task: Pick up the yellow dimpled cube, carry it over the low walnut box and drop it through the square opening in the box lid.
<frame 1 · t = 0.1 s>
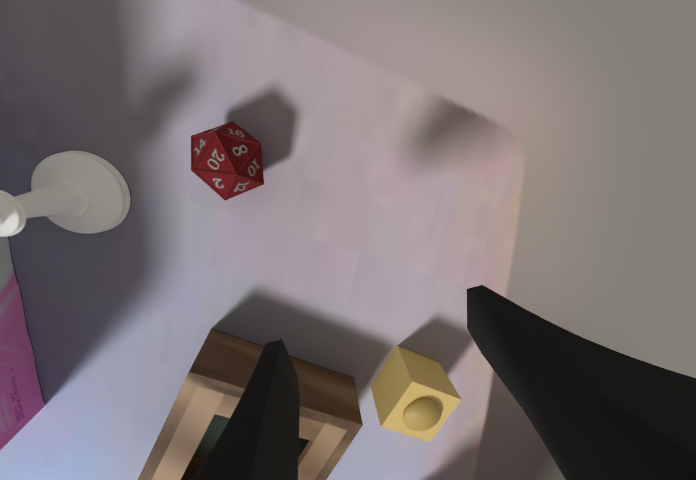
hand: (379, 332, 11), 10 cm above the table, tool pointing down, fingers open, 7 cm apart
yellow dimpled cube: (404, 373, 26), on the table
dice: (237, 158, 19), on the table
piece box: (255, 411, 25), on the table
chess piece: (88, 192, 18), on the table
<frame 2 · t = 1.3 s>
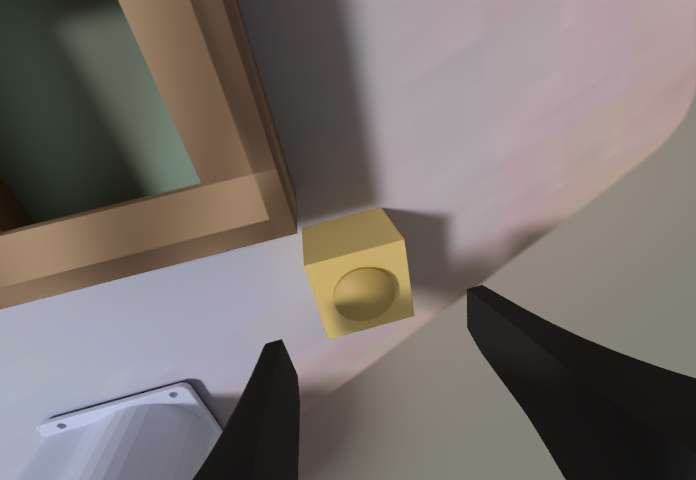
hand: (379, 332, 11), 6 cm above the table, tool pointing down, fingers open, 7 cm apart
yellow dimpled cube: (349, 251, 17), on the table
piece box: (107, 93, 12), on the table
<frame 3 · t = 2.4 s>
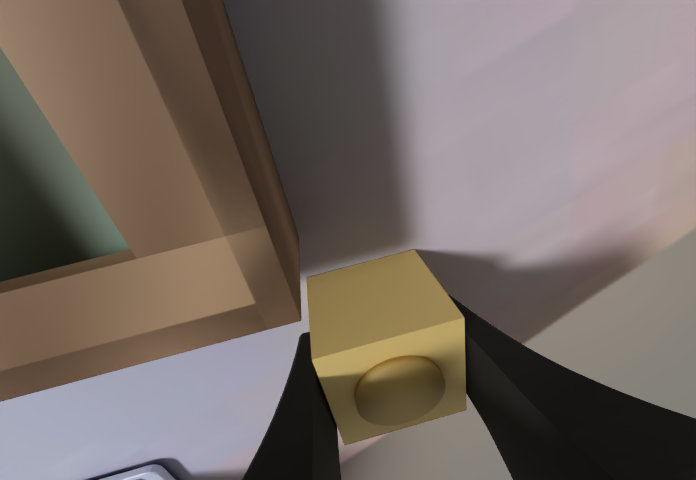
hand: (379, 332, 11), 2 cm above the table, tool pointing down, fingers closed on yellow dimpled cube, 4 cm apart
yellow dimpled cube: (369, 305, 13), on the table, touching gripper
piece box: (7, 94, 8), on the table
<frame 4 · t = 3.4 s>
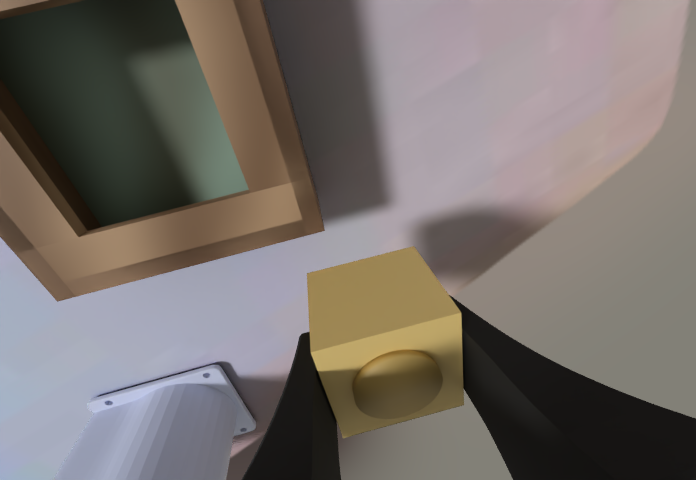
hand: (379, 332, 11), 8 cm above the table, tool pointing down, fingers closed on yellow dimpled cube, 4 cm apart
yellow dimpled cube: (369, 301, 13), point 7 cm above the table, touching gripper
piece box: (163, 114, 14), on the table
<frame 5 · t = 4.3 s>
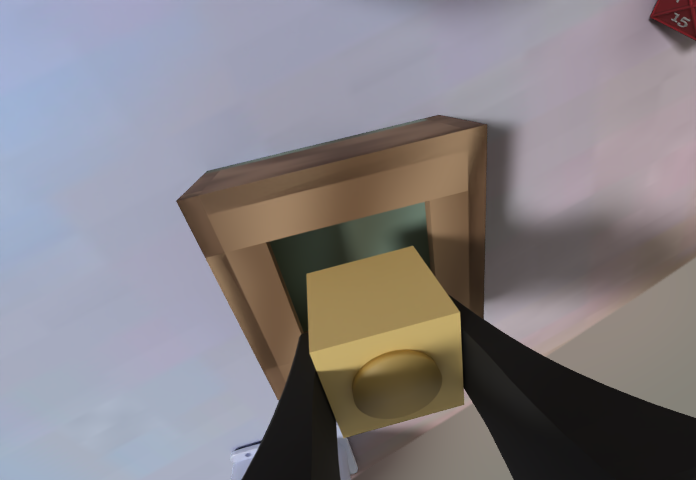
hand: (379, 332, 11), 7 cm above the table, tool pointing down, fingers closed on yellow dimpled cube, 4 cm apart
yellow dimpled cube: (369, 301, 13), point 6 cm above the table, touching gripper
piece box: (348, 244, 18), on the table
when the fingers open (7 cm above the table, at t = 4.9 s): yellow dimpled cube drops 4 cm, resting on piece box.
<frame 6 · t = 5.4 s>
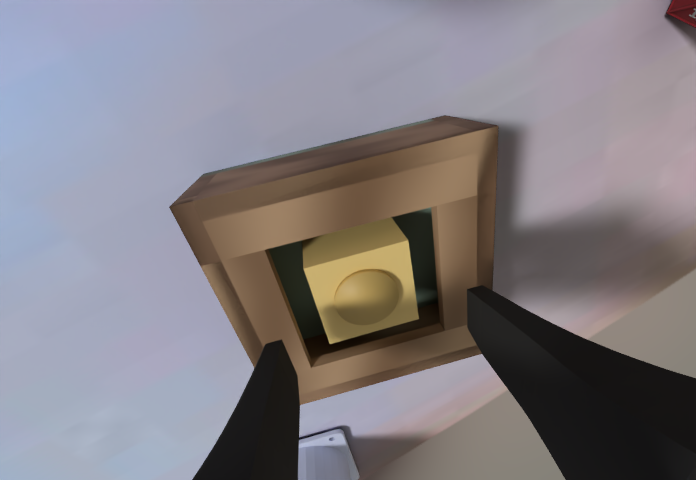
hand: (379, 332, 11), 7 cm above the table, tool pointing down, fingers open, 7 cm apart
yellow dimpled cube: (351, 251, 17), point 1 cm above the table, touching piece box
piece box: (350, 249, 17), on the table
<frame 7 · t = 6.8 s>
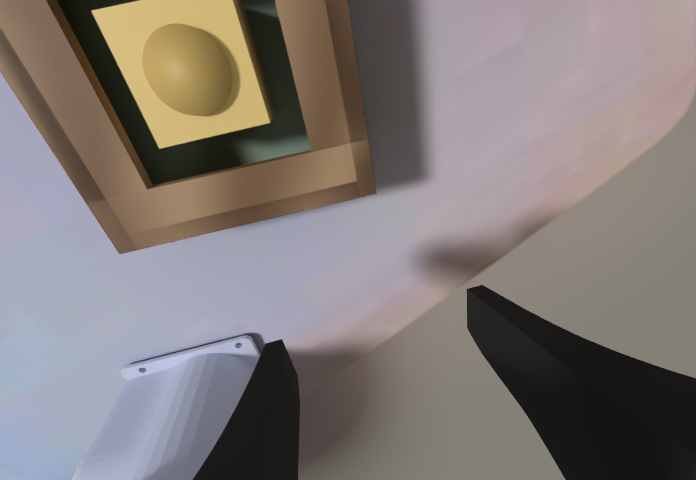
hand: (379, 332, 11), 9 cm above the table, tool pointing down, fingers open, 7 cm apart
yellow dimpled cube: (216, 75, 14), point 1 cm above the table, touching piece box
piece box: (221, 79, 15), on the table
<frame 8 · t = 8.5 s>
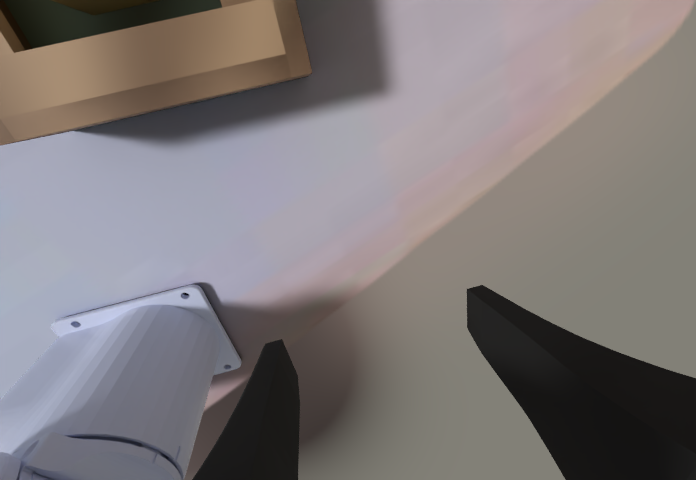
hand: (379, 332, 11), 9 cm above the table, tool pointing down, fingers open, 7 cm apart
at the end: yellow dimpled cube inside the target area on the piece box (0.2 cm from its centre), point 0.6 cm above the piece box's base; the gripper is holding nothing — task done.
